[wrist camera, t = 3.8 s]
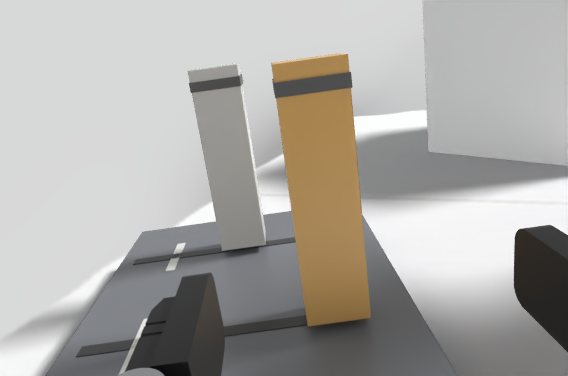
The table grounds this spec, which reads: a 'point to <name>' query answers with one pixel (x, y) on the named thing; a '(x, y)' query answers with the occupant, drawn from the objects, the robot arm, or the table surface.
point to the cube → (497, 78)
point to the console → (255, 310)
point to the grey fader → (228, 155)
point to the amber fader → (323, 185)
